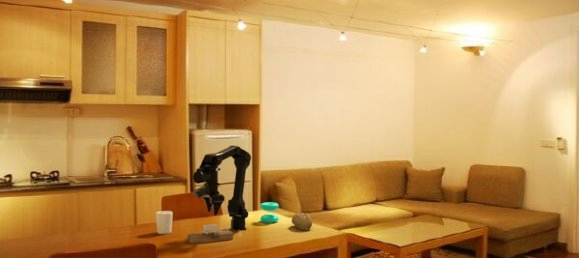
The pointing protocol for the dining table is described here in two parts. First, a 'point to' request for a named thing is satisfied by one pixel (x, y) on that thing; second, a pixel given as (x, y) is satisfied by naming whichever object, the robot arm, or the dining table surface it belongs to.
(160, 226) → the white cup
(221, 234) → the rail
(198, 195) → the robot arm
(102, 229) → the dining table surface
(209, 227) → the grey arch block
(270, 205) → the donuts
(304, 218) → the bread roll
